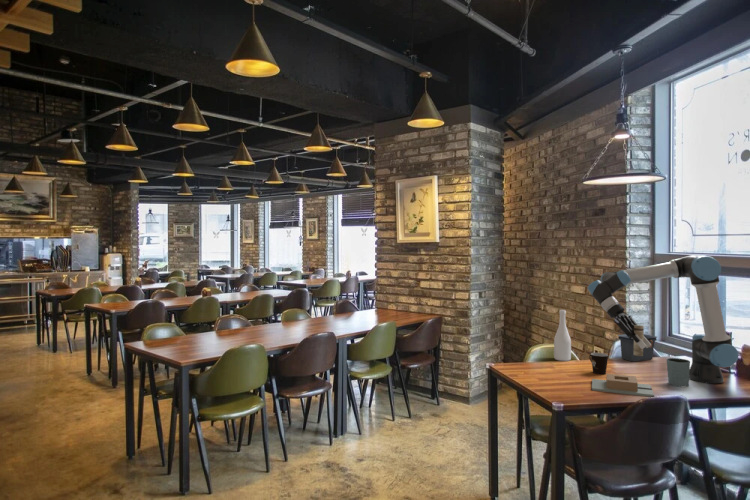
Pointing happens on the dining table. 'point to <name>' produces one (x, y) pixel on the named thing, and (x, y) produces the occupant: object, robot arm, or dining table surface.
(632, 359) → the storage bin
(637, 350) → the round peg
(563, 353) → the wine bottle
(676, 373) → the grey-green tapered pot
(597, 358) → the coffee mug
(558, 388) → the dining table surface
